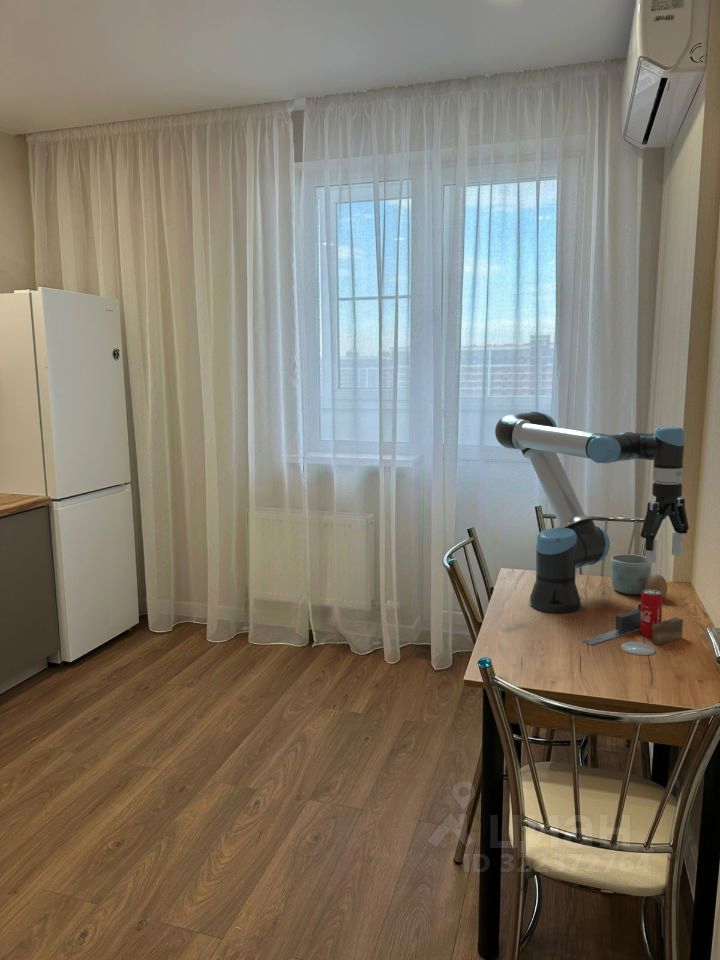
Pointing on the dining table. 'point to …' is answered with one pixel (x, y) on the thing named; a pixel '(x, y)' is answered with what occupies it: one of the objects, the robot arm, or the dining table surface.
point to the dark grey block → (628, 620)
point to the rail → (608, 636)
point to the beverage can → (650, 611)
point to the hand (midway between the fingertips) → (663, 558)
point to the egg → (657, 584)
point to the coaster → (638, 648)
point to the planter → (630, 573)
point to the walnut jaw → (667, 631)
